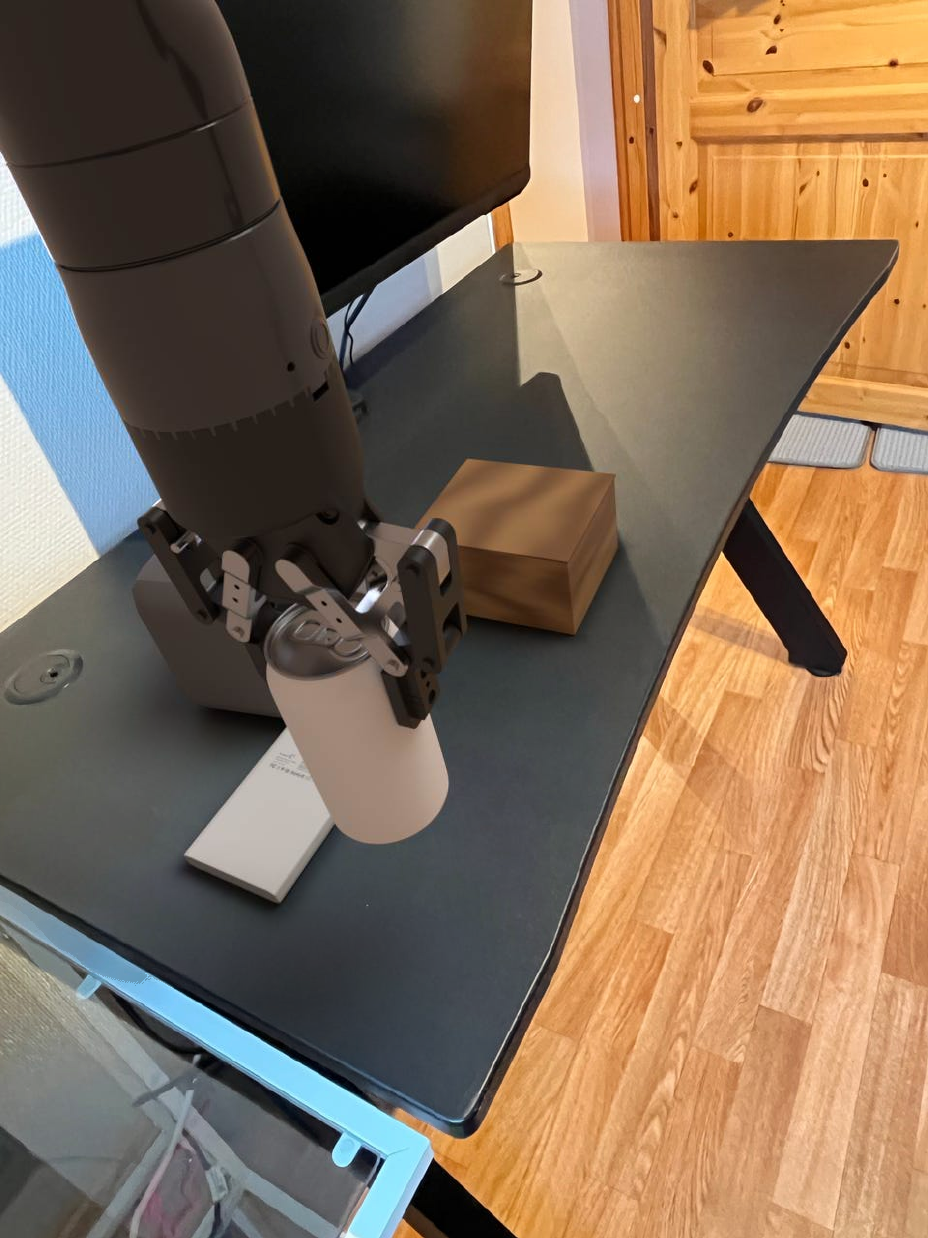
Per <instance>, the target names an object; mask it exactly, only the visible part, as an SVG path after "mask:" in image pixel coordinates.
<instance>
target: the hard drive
mask: <svg viewBox="0 0 928 1238" xmlns="http://www.w3.org/2000/svg"><path fill="white" fill-rule="evenodd" d="M334 826H336V824H335V823H334V821H333V819H332V818H331V816H330V814H329V812H328V810H327V808H326V806H325V804H324V802H323V800H322V798H321V796H320V794H319V792H318V790H317V788H316V786H315V784H314V781H313V779H312V777H311V775H310V773H309V771H308V769H307V767H306V765H305V763H304V761H303V759H302V757H301V755H300V753H299V751H298V749H297V747H296V744H295V742H294V740H293V738H292V736H291V734H290V732H289V730H288V728H287V726H286V727H285V728H284V729H283V731H282V732H281V733H280V735H279V736H278V737H277V738H276V739H275V741H274V742H273V744H271V746H270V747H269V748H268V749H267V751H266V752H264V754H263V756H262V757H261V758H260V759H259V760H258V761H257V763H256V764H255V765H254V766H253V768H252V769H251V770H250V772H249V773H248V774H247V775H246V777H245V778H244V779H243V780H242V781H241V783H240V784H239V786H237V788H236V789H235V790H234V792H232V794H231V795H230V797H228V799H227V800H226V801H225V803H223V805H222V806H221V808H220V809H218V811H217V812H216V814H215V815H214V816H213V817H212V819H211V820H210V821H209V823H207V825H206V826H205V828H203V830H202V831H201V833H200V834H199V835H198V836H197V837H196V839H195V840H194V841H193V842H192V844H191V845H190V847H189V848H188V849H187V850H186V851H185V852H184V854H183V857H184V858H185V860H186V861H187V862H188V863H189V865H191V866H193V867H194V868H196V869H198V870H201V871H202V872H205V873H207V874H210V875H212V876H214V877H216V878H218V879H221V880H223V881H225V882H228V883H230V884H232V885H234V886H237V887H238V888H241V889H244V890H245V891H248V892H250V893H252V894H255V895H257V896H259V897H261V898H264V899H265V900H267V901H270V902H271V903H272V902H273V903H275V904H278V905H279V904H281V903H282V902H283V900H284V898H285V897H286V896H287V894H288V893H289V892H290V890H291V888H292V887H293V885H295V883H296V881H297V880H298V878H299V877H300V876H301V875H302V873H303V871H304V870H305V868H306V867H307V865H308V864H309V862H310V861H311V860H312V859H313V856H314V855H315V854H316V852H317V851H318V850H319V848H320V847H321V845H322V844H323V842H324V841H325V839H326V838H327V836H328V835H329V834H330V832H331V831H332V829H333V827H334Z"/></svg>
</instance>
